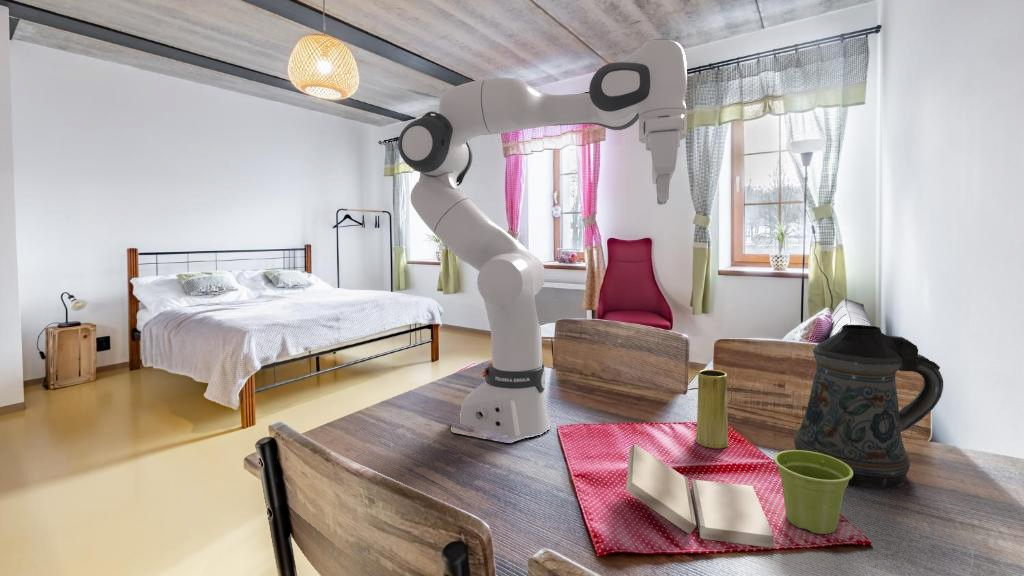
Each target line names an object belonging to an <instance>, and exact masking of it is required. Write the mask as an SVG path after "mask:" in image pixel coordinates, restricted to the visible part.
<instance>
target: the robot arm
mask: <svg viewBox="0 0 1024 576" xmlns="http://www.w3.org/2000/svg"><path fill="white" fill-rule="evenodd" d="M685 54H686V53H685V52H684V49H683V47H682V46H681V44H680V43H678V42H676V41H674V40H672V39H668V38H655V39H651V40H648V41H646V42H645V43H643V44H642V45H641V46H640V47H639V48H638V49H637V50H636V51H634V52H633V53H631V54H630V55H628V56H626V57H624V58H622V59H619V60H617V61H614V62H610V63H607V64H604V65H603V66H601V67H600V68H599V69H598V70H597V71H596V72H595V73H594V74H593V77H592V78H591V80H590V82H589V88H588V93H586V92H585V93H571V94H570V93H569V94H551V93H547V92H544V91H541V90H540V89H537V88H535V87H533V86H532V85H530V84H529V83H526V82H525V81H524V80H522V79H519V78H516V77H515V78H513V77H492V78H484V79H478V80H474V81H470V82H469V81H468V82H465V83H463V84H459V85H456V86H454V87H451V88H448V89H447V90H445V91H444V92H443V94H442V95H441V97H440V101H439V107H438V111H439V112H437V111H432V110H431V111H428V112H426V113H425V114H424V115H422V116H421V117H420V118H417V119H415V120H413V121H411V122H410V123H408V124H407V125H406V126H404V128H403V130H402V131H401V132H400V135H399V136H398V137H399V138H398V142H397V143H398V144H397V145H398V146H397V147H398V151H399V155H400V157H401V158H402V161H404V163H405V164H406V165H407V166H408V167H410V168H411V169H412V170H414V171H416V172H418V173H419V179H418V181H417V182H416V183H415V184H414V186H413V188H412V190H411V191H410V192H411V193H410V202H411V205H412V207H413V209H414V210H415V212H416V213H417V215H418V216H419V218H420V219H421V220H422V222H423V223H424V224H425V225H426V226H427V227H428V228H429V229H430V231H431V232H433V234H434V235H435V236H436V237H437V238H438V239H439V240H440V241H441V243H443V244H444V245H445V246H446V247H447V248H448V249H449V250H450V251H451V252H452V253H453V254H454V255H455V256H456V257H457V258H458V259H459V260H461V261H462V262H464V263H466V264H468V265H469V266H471V267H472V268H474V269H475V270H477V271H478V274H477V280H476V281H477V283H476V284H477V290H478V292H479V294H480V296H481V297H482V299H483V301H484V302H483V303H484V307H485V311H486V314H487V319H488V322H489V329H490V337H491V355H492V356H491V361H490V362H489V363H488V364H487V367H485V368H484V371H482V378H484V379H485V381H483V382H482V383H481V384H480V385H478V386H477V387H475V389H473V391H471V392H470V393H469V394H468V395H466V397H465V398H464V399H463V401H462V404H461V407H460V413H459V415H460V424H463V425H468V426H473V427H477V428H483V429H487V430H491V431H494V432H497V433H500V435H508V437H506V438H502V437H499V438H502V439H506V440H513V439H517V438H520V437H524V436H532V435H536V434H540V433H543V432H545V431H547V430H548V429H549V428H550V426H551V427H552V423H551V420H550V416H549V414H548V413H549V412H548V408H547V404H546V397H545V389H546V371H545V364H544V363H543V345H542V344H543V343H542V341H543V340H542V328H541V324H540V323H539V318H538V312H537V306H536V299H535V298H536V295H538V294H539V293H540V291H541V290H542V288H544V287H543V286H544V283H545V280H546V270H545V266H544V264H543V263H542V261H541V260H540V259H539V257H537V256H536V255H534V254H533V253H532V252H531V251H530V250H528V249H527V248H526V246H524V245H523V244H521V243H520V242H519V241H517V240H516V239H515V238H514V237H513V236H512V235H510V234H509V233H508V232H506V231H505V230H504V229H502V228H501V227H500V226H499V225H497V224H496V223H495V221H493V220H492V219H491V218H490V217H489V216H488V215H487V214H485V212H483V210H482V209H481V208H479V206H477V204H475V203H474V202H473V201H472V199H470V198H469V197H468V196H467V195H466V193H464V192H463V191H462V190H461V189H460V187H459V186H460V185H461V184H462V183H463V181H464V178H465V176H466V175H467V173H469V171H470V170H469V169H470V168H471V166H472V163H473V152H472V149H471V146H470V144H469V143H468V141H470V140H471V139H473V138H476V137H479V136H490V135H498V134H500V135H501V134H506V133H512V132H518V131H523V130H528V129H535V128H541V127H542V128H543V127H551V126H552V127H554V126H556V127H557V126H570V125H597V126H599V127H602V128H603V127H604V128H606V129H608V130H612V131H622V130H623V131H624V130H626V129H628V128H630V127H632V126H633V125H635V124H636V123H637V121H638V142H639V143H642V144H645V150H646V151H649V152H650V154H651V155H650V156H651V167H652V169H651V177H652V179H651V180H652V184H653V185H656V187H655V189H656V203H657V204H658V205H660V206H661V205H666V204H667V201H669V198H670V195H669V194H670V192H669V191H670V183H671V179H672V177H673V175H674V173H675V171H676V167H677V160H678V159H677V158H678V152H679V151H678V150H679V148H680V146H681V143H680V142H681V140H684V139H686V138H687V137H688V125H687V124H688V110H687V105H686V101H685V100H686V99H685V97H686V93H687V89H688V73H687V61H686V60H687V59H686V55H685ZM657 204H656V205H657ZM550 429H551V428H550ZM501 433H502V434H501ZM498 436H499V435H498Z"/></svg>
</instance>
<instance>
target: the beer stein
mask: <svg viewBox="0 0 1024 576" xmlns="http://www.w3.org/2000/svg"><path fill="white" fill-rule="evenodd" d="M812 352H813V357H814V359H815V361H816V367H815V371H814V376H813V379H812V385H811V390H810V394H809V397H808V402H807V406H806V409H805V412H804V415H803V418H802V421H801V423H800V426H799V428H798V429H797V431H796V433H795V434H794V438H793V439H794V440H793V442H794V447H795V450H803V451H811V452H816V453H821V454H824V455H828V456H831V457H834V458H836V459H838V460H840V461H842V462H844V463H846V464H847V465H848V466H849V467H850V468H851V469H852V471H853V477H852V478H851V479H850V480H849V482H848V485H847V486H849V487H853V488H859V489H860V488H861V489H871V490H888V489H887V488H890V489H894V488H893V487H896V488H898V487H900V486H901V485H900V484H902V483H904V482H905V483H906V479H907V474H908V472H909V470H910V468H911V460H910V457H909V455H908V453H907V451H906V448H905V446H904V444H903V443H904V442H903V438H902V432H905V431H906V430H909V429H910V428H911V427H913V426H914V425H916V424H917V423H919V422H920V421H922V419H924V418H925V417H926V416H927V415H928V414H929V413H930V412H932V410H933V409H935V407H936V406H937V404H938V403H939V401H940V399H941V398H942V396H943V395H942V394H943V391H944V379H943V376H942V374H941V372H940V369H941V366H939V365H938V364H937V362H935V361H932V360H931V359H929V358H927V357H925V356H924V355H921V354H919V349H918V346H917V345H916V344H915V343H913V342H911V341H910V340H909V339H906V338H905V337H903V336H897V335H887V334H885V333H883V332H882V329H881V327H878V326H873V325H864V324H844V325H843V326H842V327H841V330H840V331H838V332H837V333H835V334H834V335H832V336H830V337H828V338H827V339H824V340H822V341H821V342H819V343H818V344H817V345H816V346H815V347H814V348H813V351H812ZM898 371H899V372H914V373H918V374H919V375H920V376H921V377H922V378H923V385H922V387H921V389H920V391H919V393H918V394H917V395H916V397H914V398H913V399H912V400H911V401H910V402H909V403H908V404H906V405H905V406H903V407H902V408H901V409H900V408H899V398H898V397H899V396H898V390H897V389H898V388H897V383H896V374H897V372H898ZM899 409H900V410H899ZM905 483H904V484H905ZM899 485H900V486H899ZM902 485H903V484H902ZM897 486H898V487H897Z"/></svg>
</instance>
